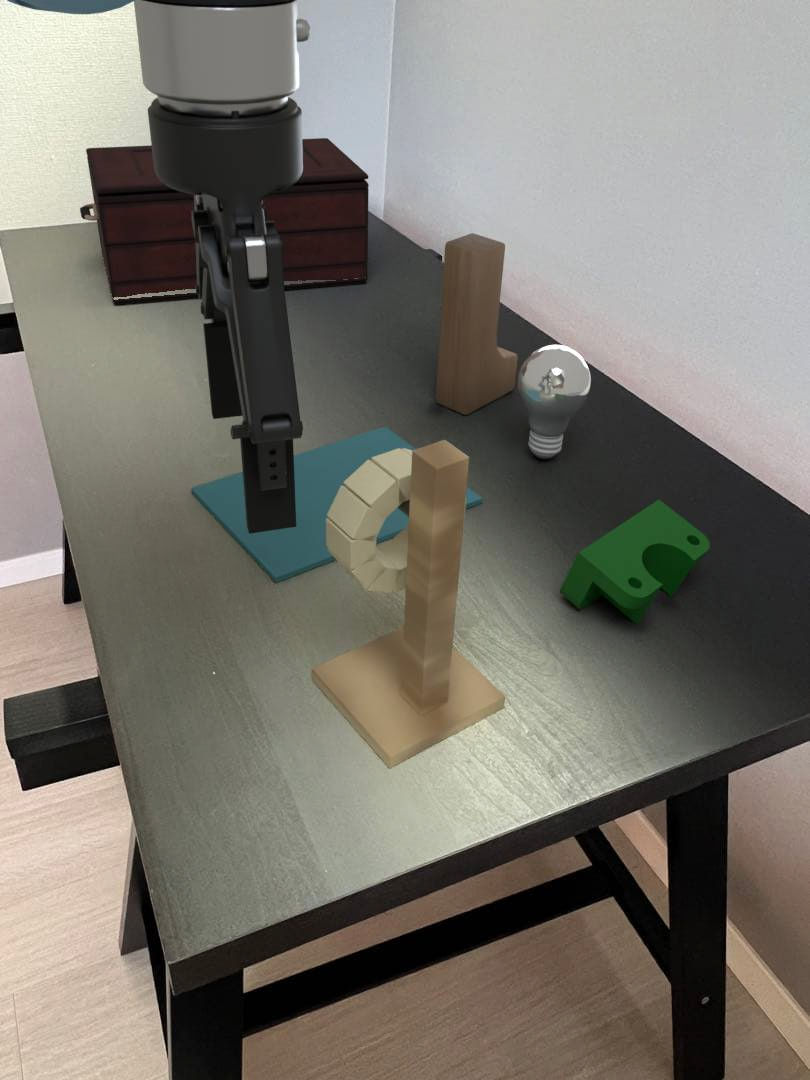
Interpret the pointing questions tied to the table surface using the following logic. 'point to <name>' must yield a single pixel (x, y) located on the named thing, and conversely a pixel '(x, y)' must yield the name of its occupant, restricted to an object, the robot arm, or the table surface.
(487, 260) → the wooden block
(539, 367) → the light bulb
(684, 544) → the clamp
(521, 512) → the table surface
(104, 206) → the storage box
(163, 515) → the table surface
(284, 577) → the mat
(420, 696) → the hook stand
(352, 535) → the segmented ring
